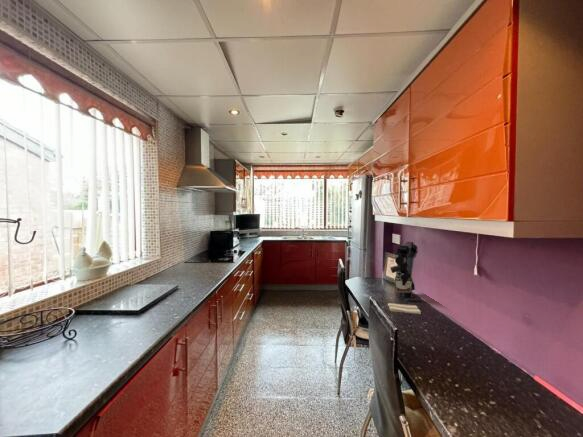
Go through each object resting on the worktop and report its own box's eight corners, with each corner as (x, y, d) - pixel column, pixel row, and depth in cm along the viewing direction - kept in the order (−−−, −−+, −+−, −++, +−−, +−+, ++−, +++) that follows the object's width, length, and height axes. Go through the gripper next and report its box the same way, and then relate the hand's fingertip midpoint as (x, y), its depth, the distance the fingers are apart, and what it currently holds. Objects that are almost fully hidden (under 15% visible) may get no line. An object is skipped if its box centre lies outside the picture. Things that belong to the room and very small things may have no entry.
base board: (388, 304, 182) (388, 303, 181) (415, 307, 178) (415, 305, 178) (391, 311, 170) (391, 309, 170) (420, 313, 166) (421, 311, 166)
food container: (410, 288, 190) (410, 275, 188) (412, 292, 184) (413, 279, 182) (392, 288, 192) (392, 275, 191) (394, 291, 186) (394, 278, 185)
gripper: (389, 259, 197) (388, 280, 198) (394, 264, 179) (393, 287, 179) (404, 260, 195) (404, 281, 195) (411, 265, 177) (410, 288, 177)
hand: (402, 284), depth 187 cm, fingers closed on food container, 6 cm apart
